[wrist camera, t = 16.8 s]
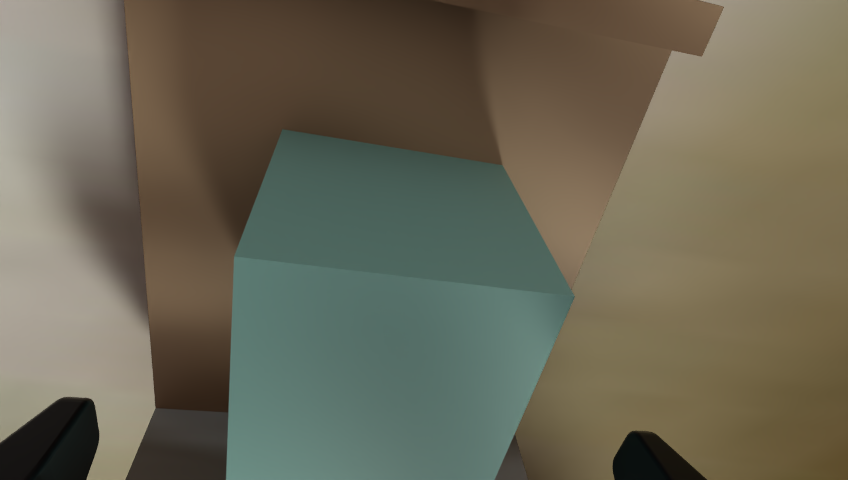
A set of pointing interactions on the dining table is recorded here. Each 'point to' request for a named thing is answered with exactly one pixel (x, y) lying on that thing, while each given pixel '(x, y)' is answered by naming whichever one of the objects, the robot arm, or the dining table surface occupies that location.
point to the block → (385, 316)
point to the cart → (369, 123)
